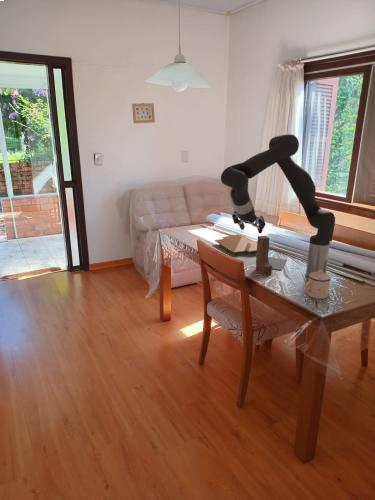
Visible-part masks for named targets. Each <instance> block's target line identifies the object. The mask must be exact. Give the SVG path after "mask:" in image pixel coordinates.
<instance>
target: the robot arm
mask: <svg viewBox="0 0 375 500" xmlns="http://www.w3.org/2000/svg"><path fill="white" fill-rule="evenodd" d="M299 146H300V142H299V138H298V137H297V136H296V135H295V134H293V133H287V134H282V135H277V136H273V137H272V138H271V139H270V140H269V141H268V149H267V150H264V151H262V152H261V151H260V153H259V152H258V153H256V154H255V155H253V156H251V157H249V158H248V159H247V160H245V161H243V162H240V163H236V164H233V165H230V166H228V167H226V168H225V169H224V170H223V171H222V173H221V175H220V181H221V184H223V185H225V186H226V187H228V188H231V190H230V197H231V199H232V203H233V209H234V210H235V211H233V212H232V215H231V217H232V221H233V223H234V224H235V225H236V224H237V225H238V226H239V228H240V230H241V231H244V230H245V228H246V227H245V224H249V225H251V226H252V227H254V228H256V229H257V231H258V234H262V233H263V231H264V229H265V227H266V221H265V219H264V216H263V215H260V216H257V215H256V211H255V207H254V204H253V200H252V199H251V196H250V194H249V179H252V178H254V177H256V176H257V175H259V174H260V173H262V172H263V171H264V170H266V169H267V168H270V167H271V166H273V165H274V164H276V163H277V166H278V167H279V168H280V169H281V171H282V172H283V175H284V176H285V178H286V179H287V182H288V183H289V186H290V187H291V189H292V191H293V192H294V195H295V196H296V198H297V199H298V202H299V203H300V205H301V206H302V207H301V208H302V209H303V211H304V214H305V215H306V216H305V217H306V219H307V221H308V223H309V226H311V227H313V228H315V229H317V232H316V234H315V235H314V234H313V235H311V236H310V238H309V244H308V253H307V260H306V271H305V276H306V277H307V278H309V274H310V273H312V272H317V271H318V270H323V272H324V273H326V274H327V270H328V269H327V268H328V263H329V262H328V261H329V253H330V245H331V241H332V239H333V235H334V230H335V225H336V216H335V214H334V212H332V211H328V210H325V209H322V208H321V207H320V206H319V204H318V202H317V199H316V190H317V189H316V185H315V182H314V181H313V179H312V177H311V175H310V173H309V172H308V171H306V170H305V169H304V168H303V167H301V166H300V165H298V164H297V163H296V162H295V161H294V160H293V158H292V156H294V155H295V154H296V153H297V152H298V151H299Z"/></svg>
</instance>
